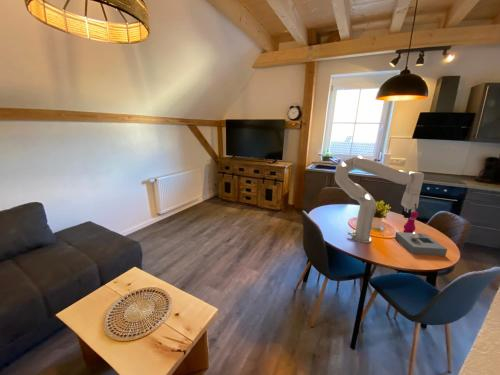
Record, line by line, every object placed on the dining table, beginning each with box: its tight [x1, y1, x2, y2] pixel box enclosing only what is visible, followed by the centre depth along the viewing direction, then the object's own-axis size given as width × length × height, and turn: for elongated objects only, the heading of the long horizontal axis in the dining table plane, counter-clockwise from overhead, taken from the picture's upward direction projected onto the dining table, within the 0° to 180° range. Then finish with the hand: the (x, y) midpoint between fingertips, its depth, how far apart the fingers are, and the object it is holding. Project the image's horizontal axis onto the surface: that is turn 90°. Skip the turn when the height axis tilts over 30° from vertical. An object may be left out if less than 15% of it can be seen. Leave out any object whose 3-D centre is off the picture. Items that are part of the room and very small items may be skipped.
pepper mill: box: [402, 210, 419, 233], centre depth 163 cm, size 7×7×20 cm
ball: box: [410, 232, 419, 240], centre depth 145 cm, size 5×5×5 cm
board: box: [394, 231, 448, 257], centre depth 146 cm, size 20×20×5 cm
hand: (406, 217), depth 142 cm, fingers closed
